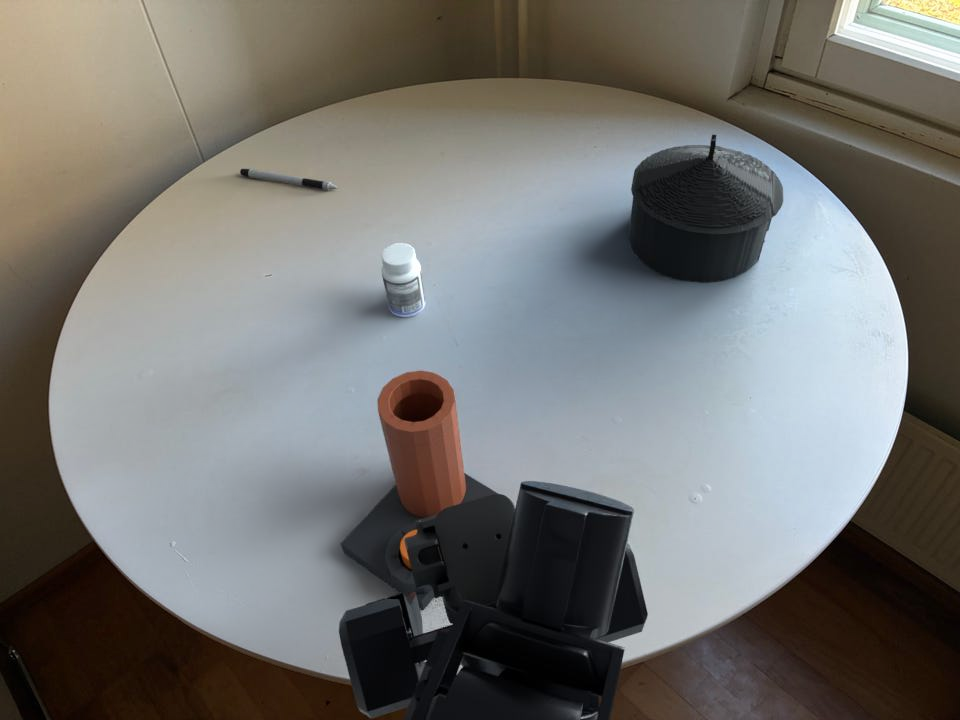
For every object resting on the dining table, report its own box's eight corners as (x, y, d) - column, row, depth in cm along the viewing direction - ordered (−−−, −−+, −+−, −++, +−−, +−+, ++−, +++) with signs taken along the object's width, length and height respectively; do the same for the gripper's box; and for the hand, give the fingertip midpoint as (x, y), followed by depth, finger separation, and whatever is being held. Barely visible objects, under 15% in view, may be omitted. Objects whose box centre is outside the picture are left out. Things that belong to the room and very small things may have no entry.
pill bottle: (395, 289, 98) (386, 237, 91) (430, 295, 97) (423, 243, 90) (382, 315, 95) (372, 263, 88) (418, 321, 94) (410, 269, 87)
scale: (428, 614, 69) (423, 597, 66) (343, 552, 73) (336, 534, 71) (511, 510, 75) (510, 490, 73) (428, 459, 80) (425, 439, 77)
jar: (417, 530, 73) (398, 443, 62) (388, 479, 76) (365, 390, 66) (477, 498, 74) (468, 409, 64) (446, 451, 78) (433, 360, 68)
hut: (768, 294, 94) (800, 192, 82) (619, 276, 97) (630, 177, 86) (767, 203, 105) (794, 104, 94) (633, 191, 109) (645, 93, 98)
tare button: (422, 577, 68) (420, 568, 66) (394, 558, 69) (392, 549, 68) (444, 550, 69) (442, 541, 68) (417, 532, 71) (415, 522, 69)
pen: (244, 173, 117) (242, 165, 116) (341, 189, 113) (340, 181, 112) (240, 177, 116) (238, 170, 115) (337, 194, 112) (336, 186, 111)
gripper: (649, 479, 42) (569, 441, 57) (308, 577, 39) (321, 510, 54) (694, 672, 42) (603, 583, 58) (363, 783, 40) (360, 658, 55)
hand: (475, 580), depth 56 cm, fingers open, 9 cm apart
